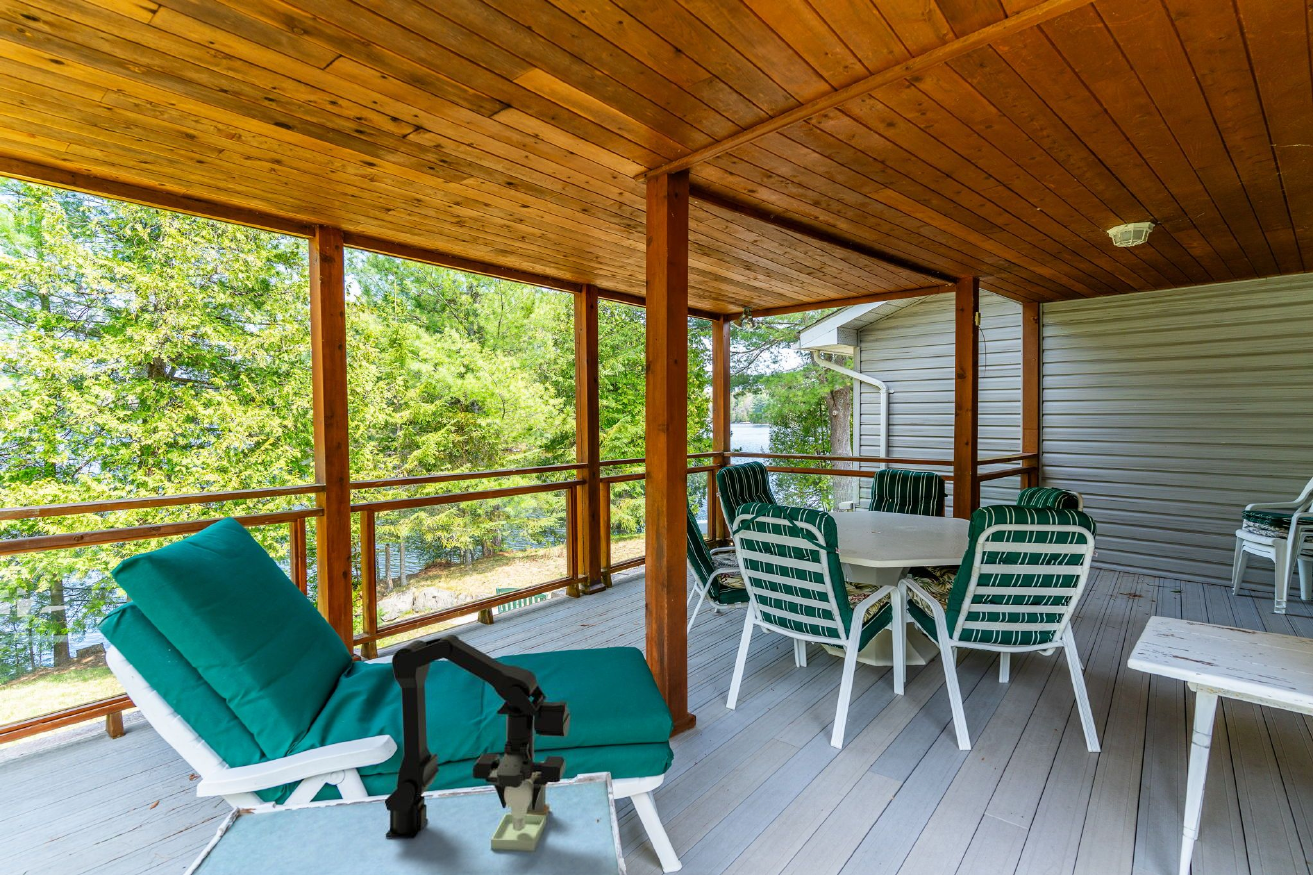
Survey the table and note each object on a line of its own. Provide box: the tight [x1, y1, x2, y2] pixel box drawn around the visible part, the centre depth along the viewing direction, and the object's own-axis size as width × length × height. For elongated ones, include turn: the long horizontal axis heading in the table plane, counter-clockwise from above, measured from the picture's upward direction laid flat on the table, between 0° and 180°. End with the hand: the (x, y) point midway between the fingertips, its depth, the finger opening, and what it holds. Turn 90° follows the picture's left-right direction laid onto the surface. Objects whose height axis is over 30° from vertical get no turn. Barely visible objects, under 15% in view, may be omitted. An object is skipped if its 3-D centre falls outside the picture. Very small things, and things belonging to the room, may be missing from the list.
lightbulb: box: [504, 779, 534, 831], centre depth 128 cm, size 6×6×11 cm
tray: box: [490, 813, 547, 852], centre depth 127 cm, size 9×9×2 cm
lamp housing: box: [526, 773, 550, 818], centre depth 136 cm, size 6×4×10 cm, turn 86°
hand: (519, 807), depth 128 cm, fingers open, 6 cm apart
